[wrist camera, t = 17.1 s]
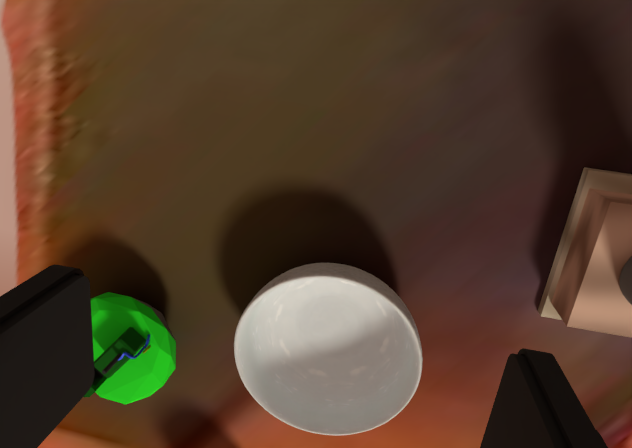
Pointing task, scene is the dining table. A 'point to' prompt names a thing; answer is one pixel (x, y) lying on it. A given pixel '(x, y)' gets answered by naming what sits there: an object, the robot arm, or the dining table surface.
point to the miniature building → (129, 348)
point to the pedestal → (593, 257)
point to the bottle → (626, 280)
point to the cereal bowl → (329, 349)
